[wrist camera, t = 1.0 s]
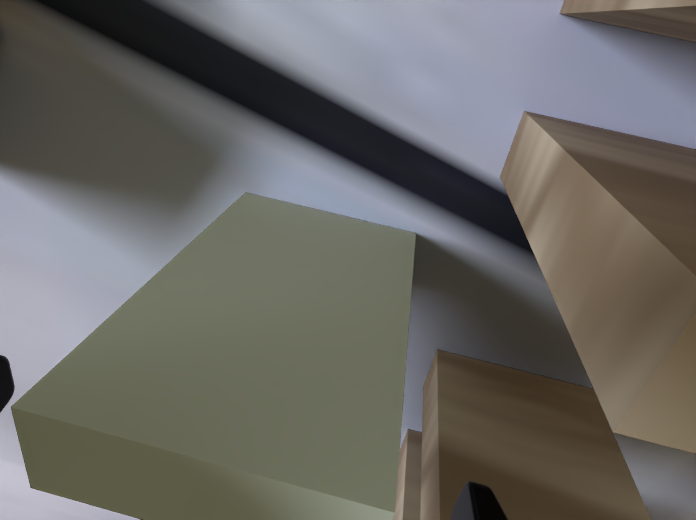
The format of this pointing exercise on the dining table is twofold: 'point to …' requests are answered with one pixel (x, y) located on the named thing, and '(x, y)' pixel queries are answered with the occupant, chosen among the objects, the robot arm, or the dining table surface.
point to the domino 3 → (640, 15)
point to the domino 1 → (239, 378)
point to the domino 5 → (520, 445)
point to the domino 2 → (409, 478)
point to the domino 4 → (617, 264)
